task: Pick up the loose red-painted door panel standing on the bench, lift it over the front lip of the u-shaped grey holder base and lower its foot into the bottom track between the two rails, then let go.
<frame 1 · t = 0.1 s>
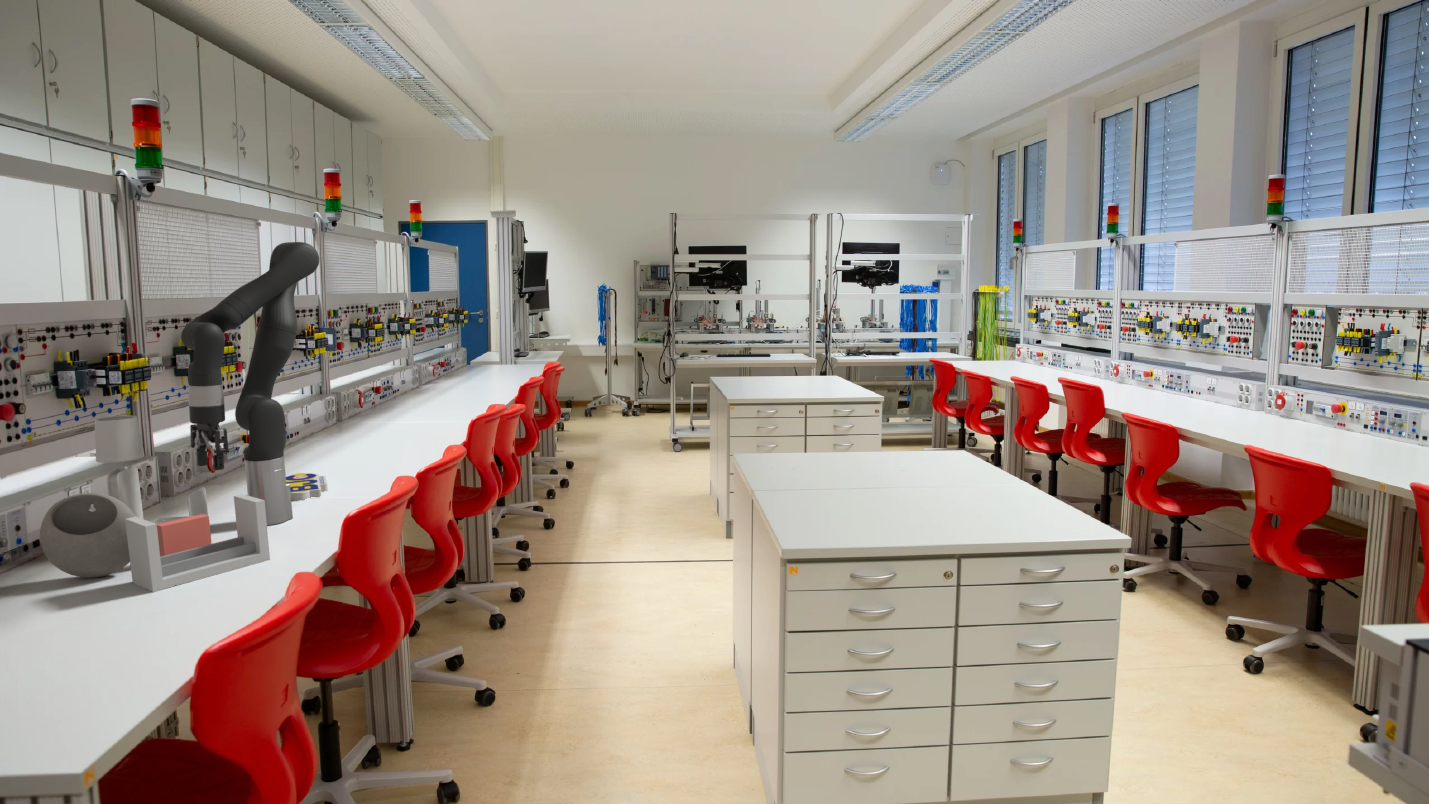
hand: (210, 467, 208), 17 cm above the workbench, tool pointing down, fingers open, 8 cm apart
sign: (291, 492, 254), on the workbench
planter: (96, 577, 181), on the workbench
wall lamp: (154, 534, 212), on the workbench
door panel: (186, 557, 194), on the workbench
u-shaped grey holder: (203, 570, 185), on the workbench
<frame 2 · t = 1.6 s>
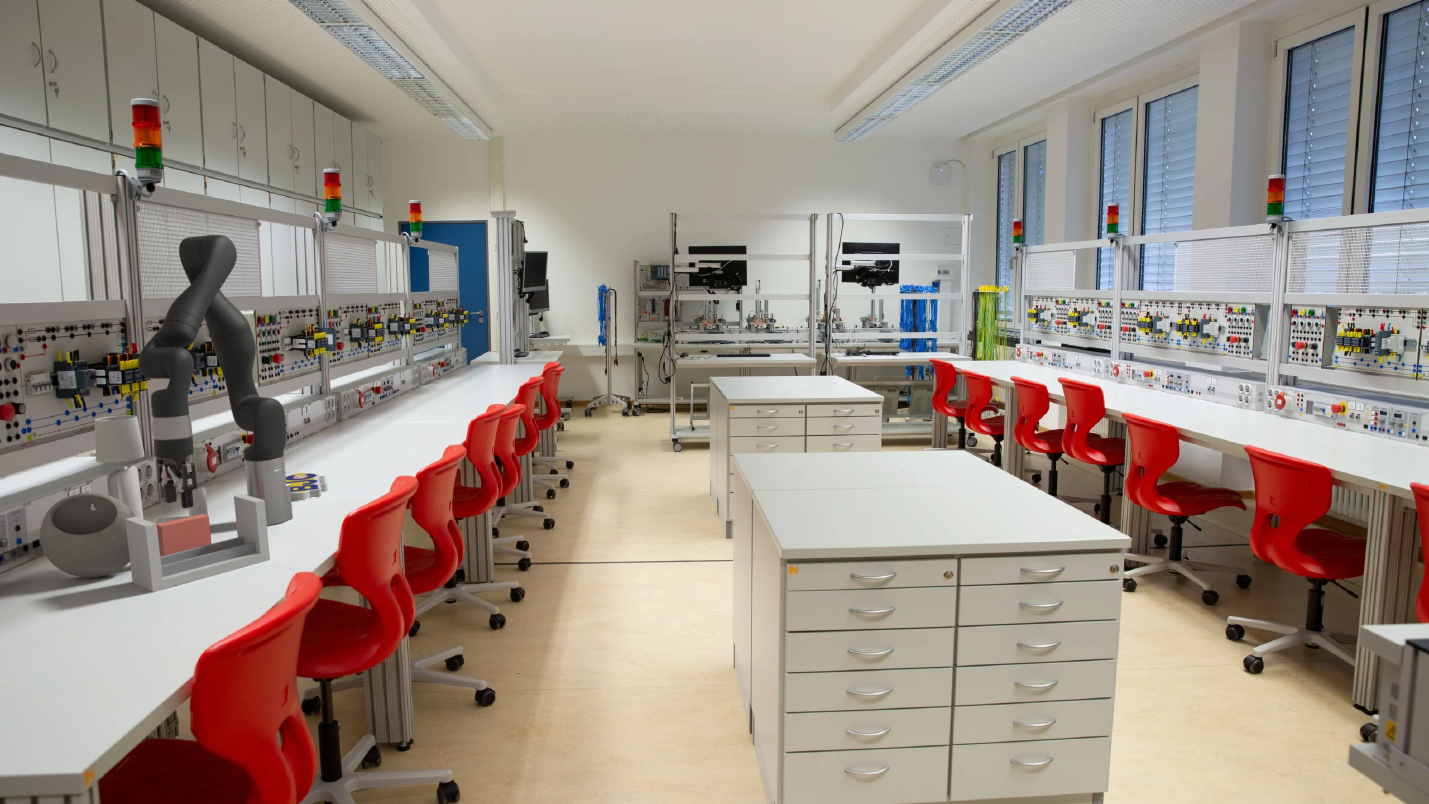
hand: (179, 504, 192), 13 cm above the workbench, tool pointing down, fingers open, 8 cm apart
nothing on the workbench moved.
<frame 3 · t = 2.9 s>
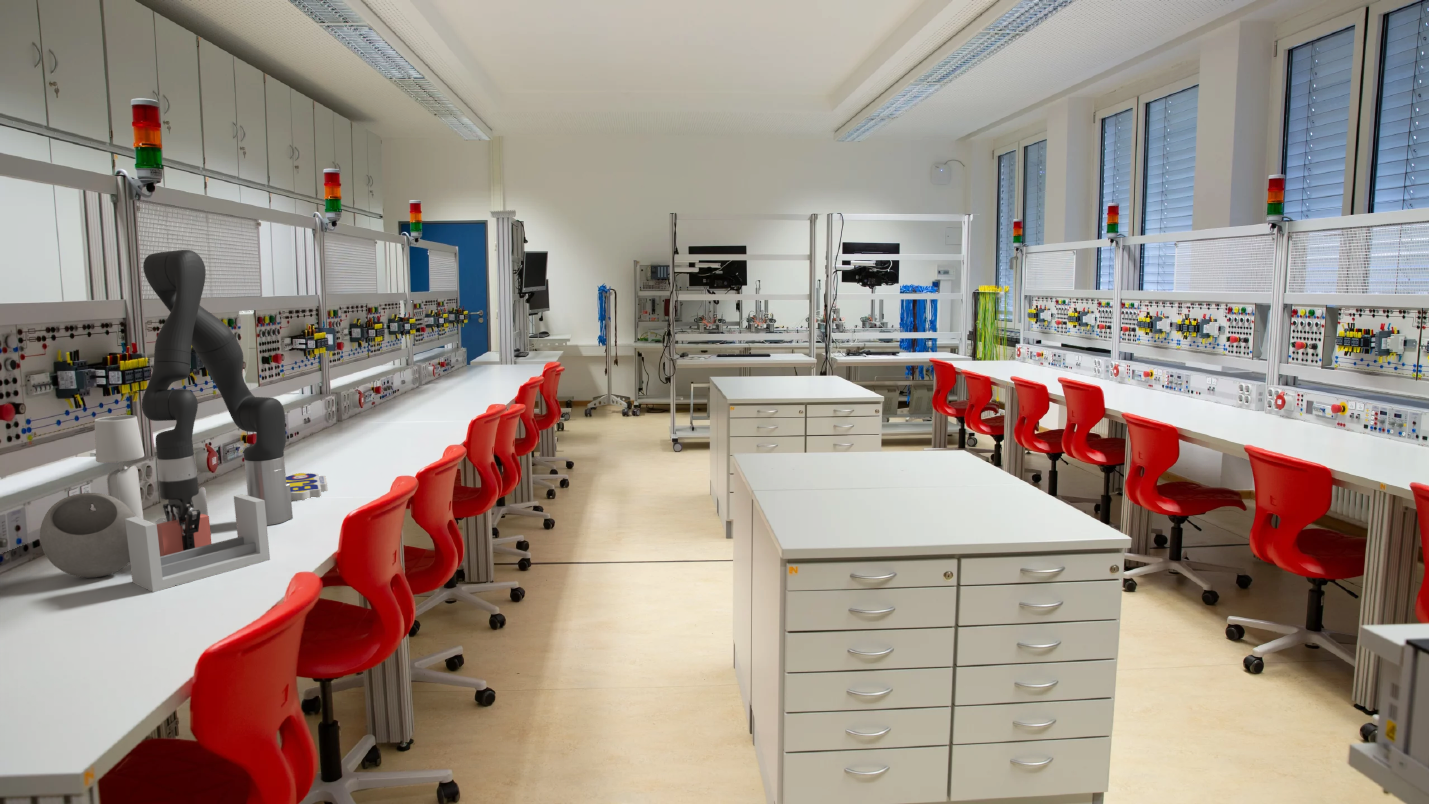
hand: (185, 548, 193), 2 cm above the workbench, tool pointing down, fingers closed on door panel, 3 cm apart
door panel: (186, 557, 194), on the workbench, touching gripper
everything else where it was.
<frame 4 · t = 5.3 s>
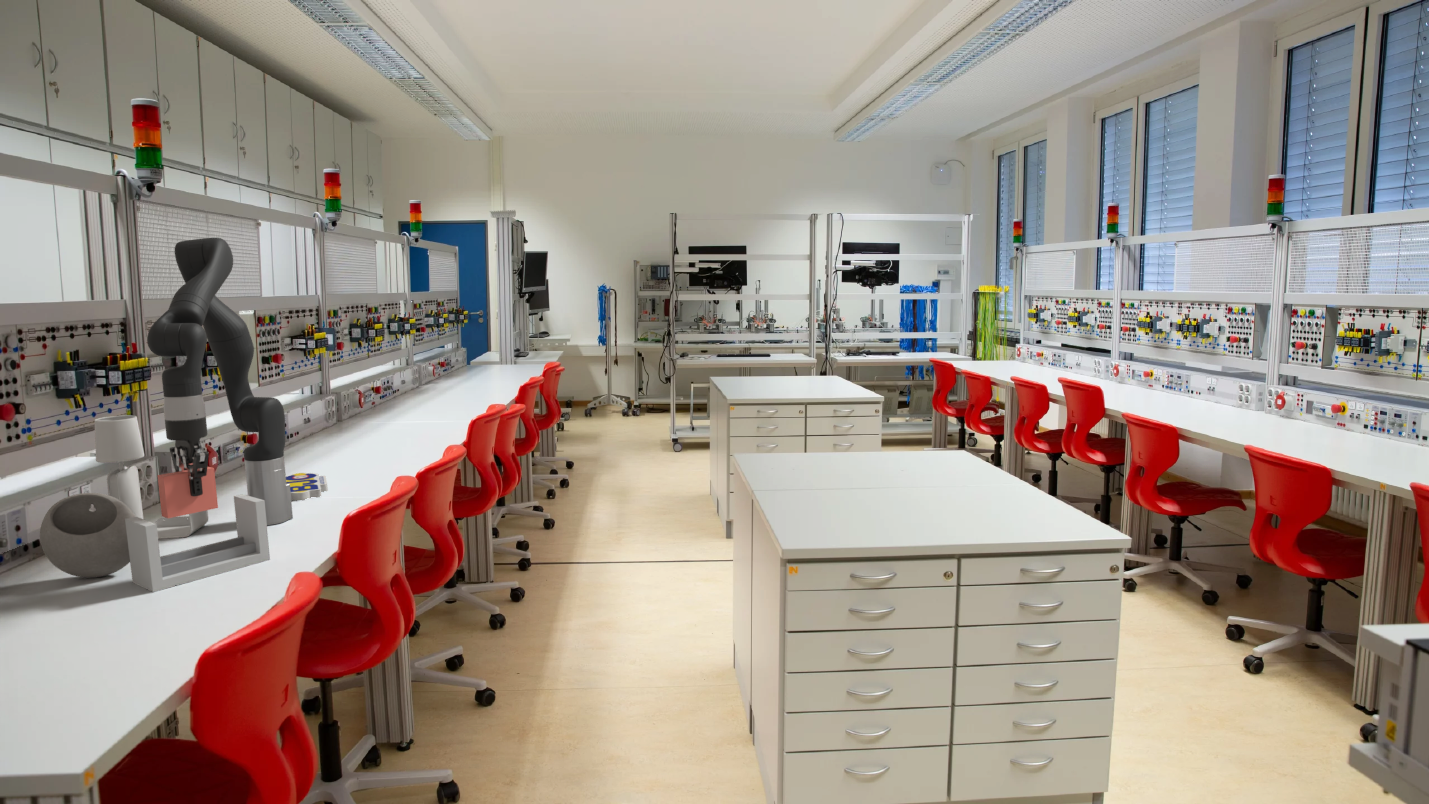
hand: (192, 494, 182), 17 cm above the workbench, tool pointing down, fingers closed on door panel, 3 cm apart
door panel: (190, 512, 182), point 14 cm above the workbench, touching gripper
everything else where it was.
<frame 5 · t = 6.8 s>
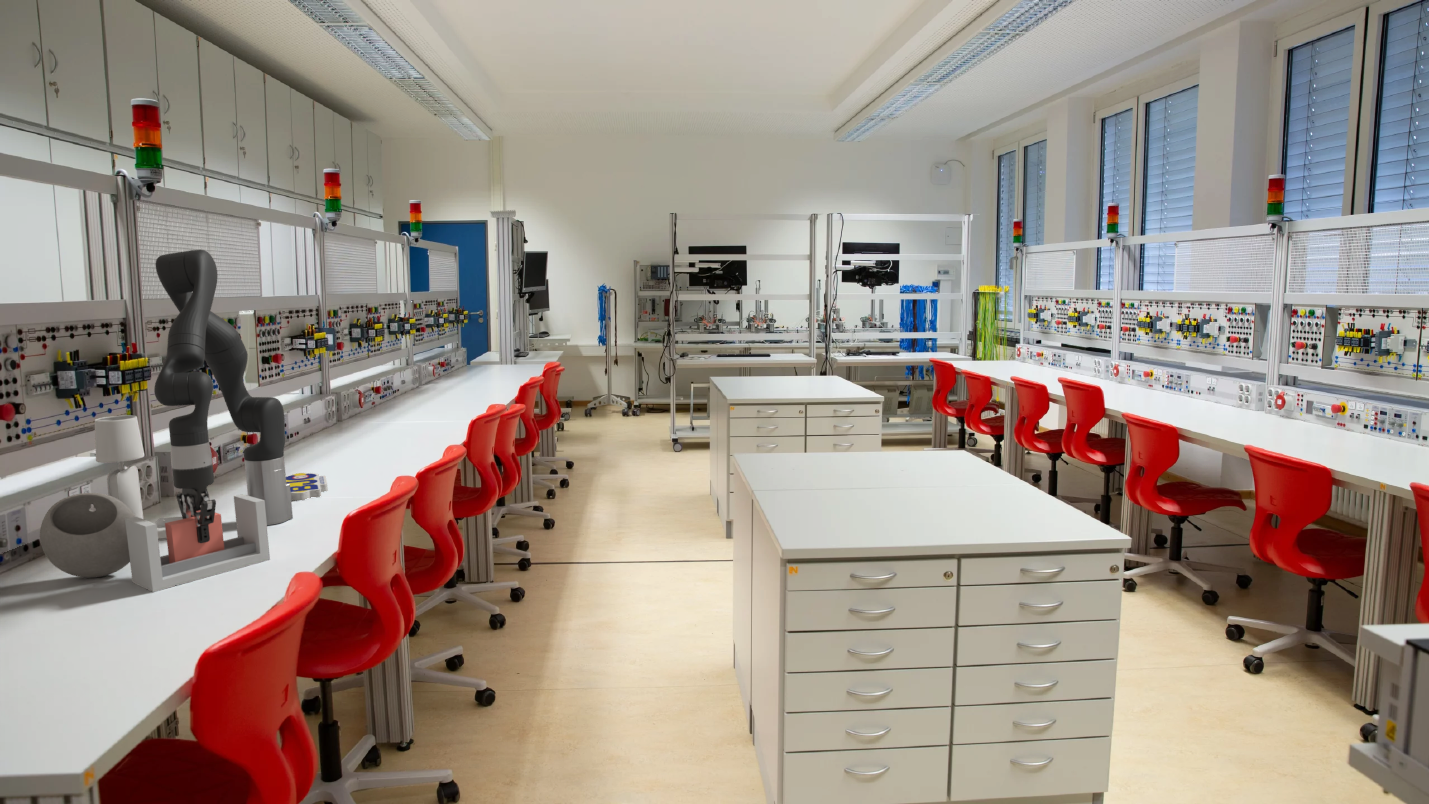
hand: (200, 540, 184), 7 cm above the workbench, tool pointing down, fingers closed on door panel, 3 cm apart
door panel: (197, 558, 183), point 3 cm above the workbench, touching gripper
everything else where it was.
when the fingers open (6 cm above the workbench, at t = 7.4 s): door panel stays where it is, resting on u-shaped grey holder.
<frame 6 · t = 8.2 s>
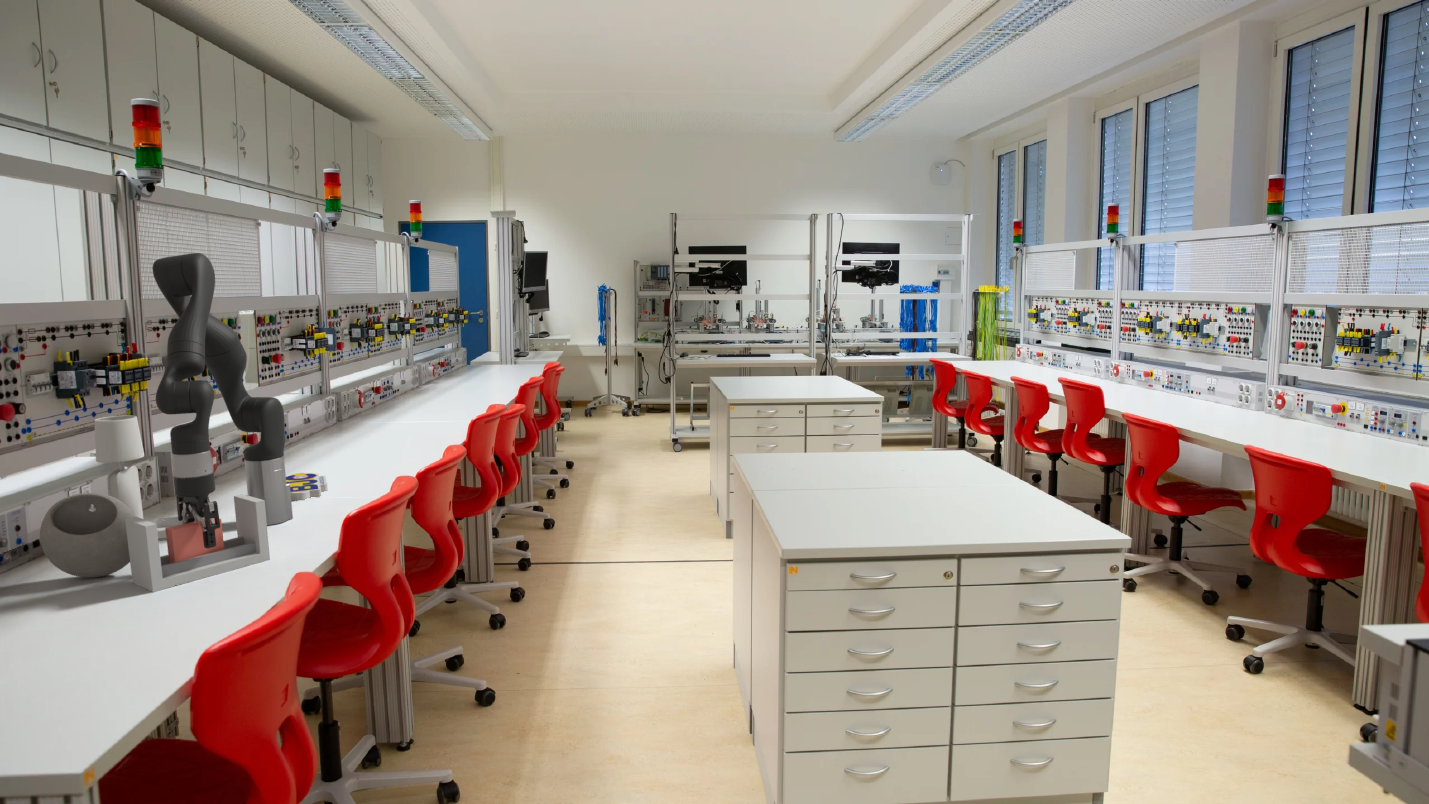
hand: (201, 544, 184), 6 cm above the workbench, tool pointing down, fingers open, 8 cm apart
door panel: (198, 563, 184), point 2 cm above the workbench, touching u-shaped grey holder
everything else where it was.
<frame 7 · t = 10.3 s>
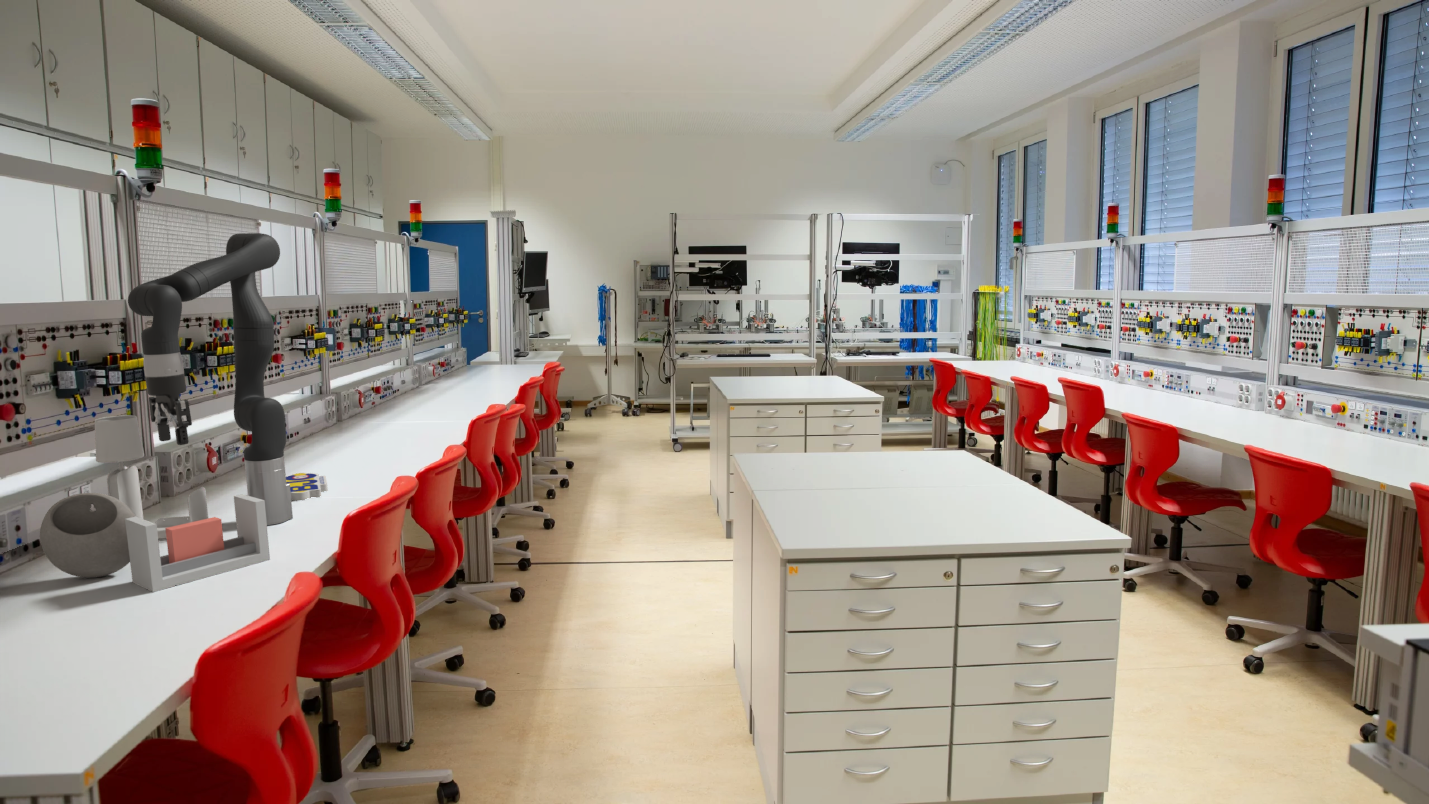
hand: (173, 442, 193), 26 cm above the workbench, tool pointing down, fingers open, 8 cm apart
nothing on the workbench moved.
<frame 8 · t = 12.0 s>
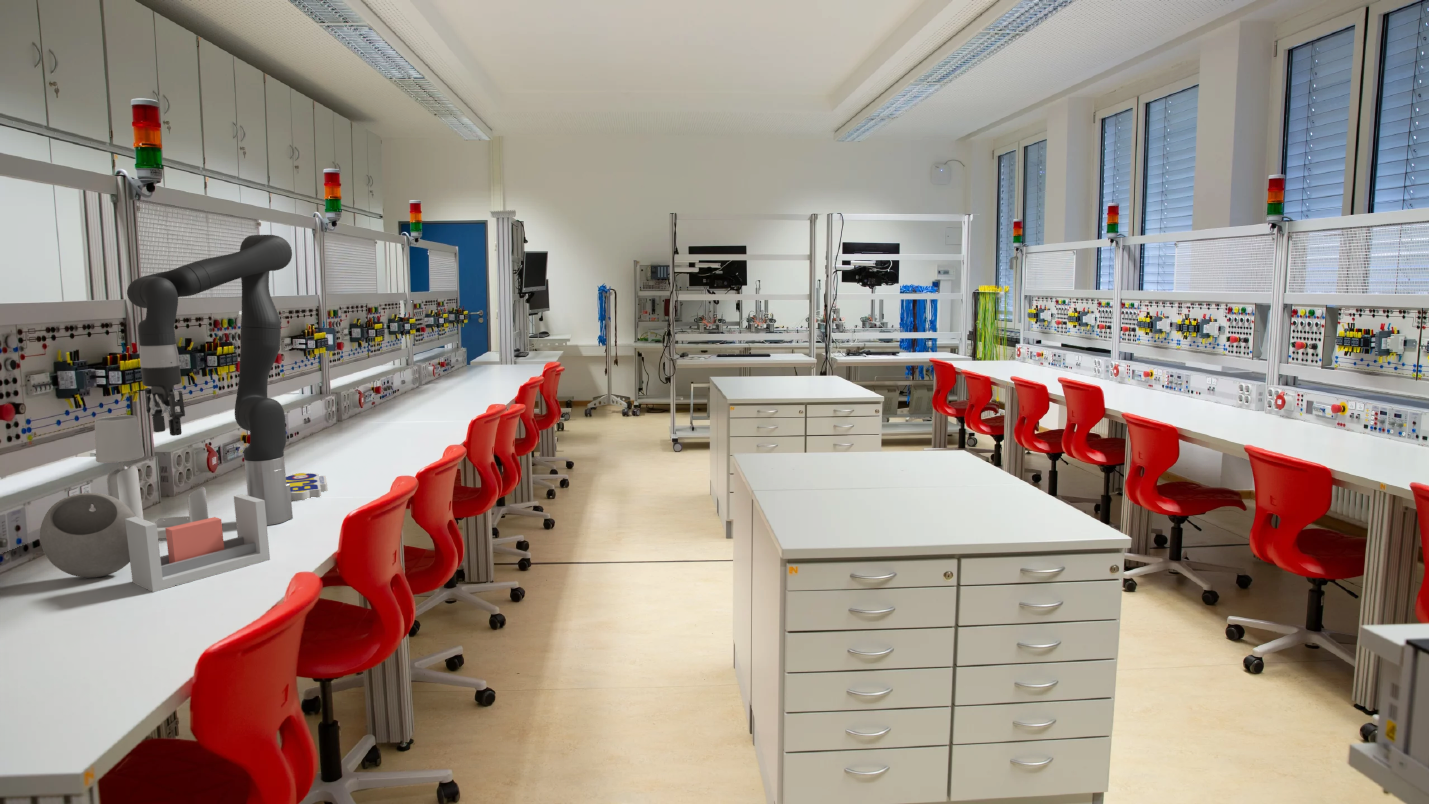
hand: (167, 433, 196), 28 cm above the workbench, tool pointing down, fingers open, 8 cm apart
nothing on the workbench moved.
at the end: door panel inside the target area on the u-shaped grey holder (1.0 cm from its centre), point 2.0 cm above the u-shaped grey holder's base; door panel tilted 0°; the gripper is holding nothing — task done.
